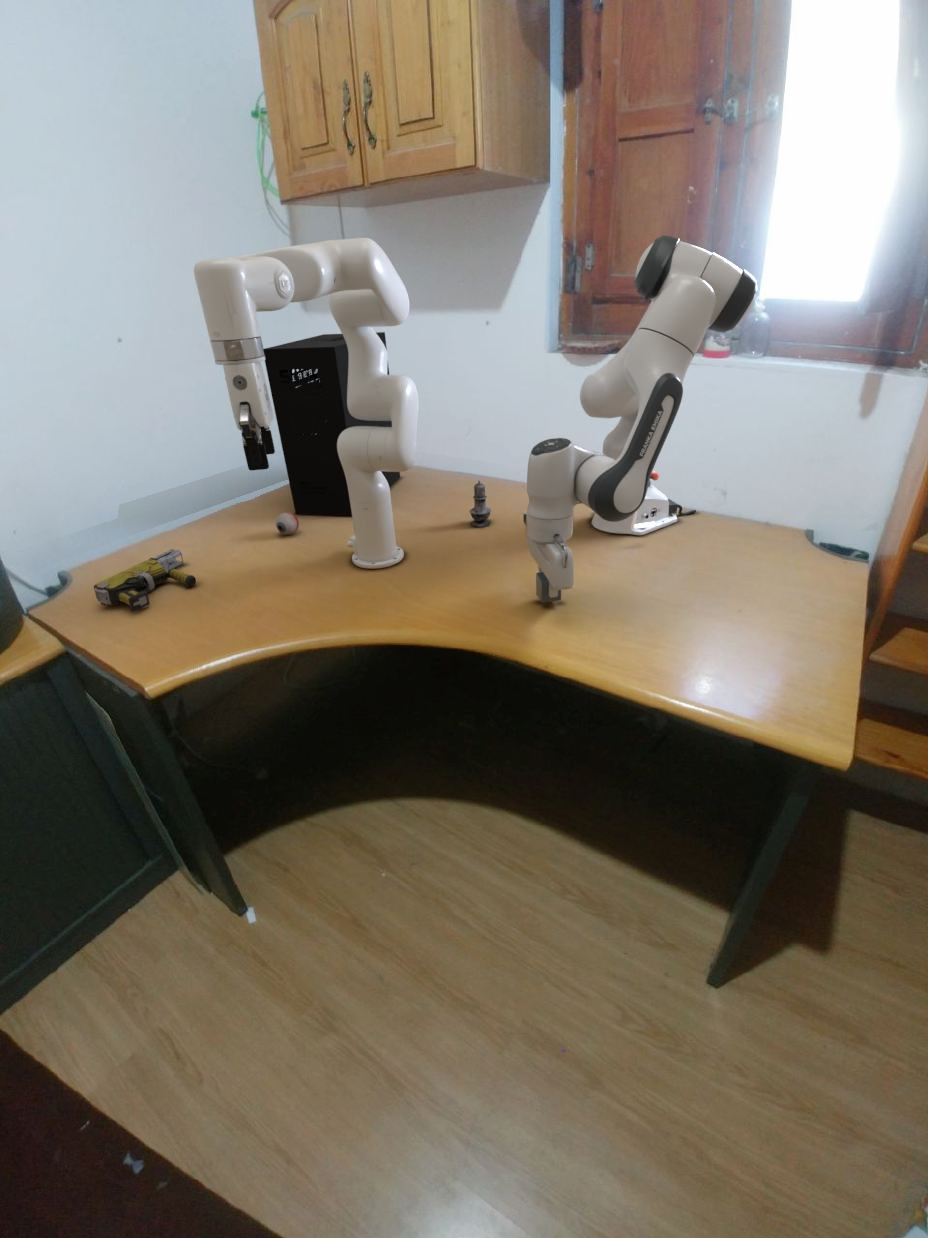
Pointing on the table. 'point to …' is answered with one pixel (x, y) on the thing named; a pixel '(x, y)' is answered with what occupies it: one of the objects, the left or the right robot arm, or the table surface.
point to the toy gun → (141, 581)
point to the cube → (544, 589)
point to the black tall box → (315, 420)
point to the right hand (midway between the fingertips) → (548, 589)
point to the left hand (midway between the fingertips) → (262, 461)
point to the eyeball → (287, 523)
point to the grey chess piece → (480, 507)
